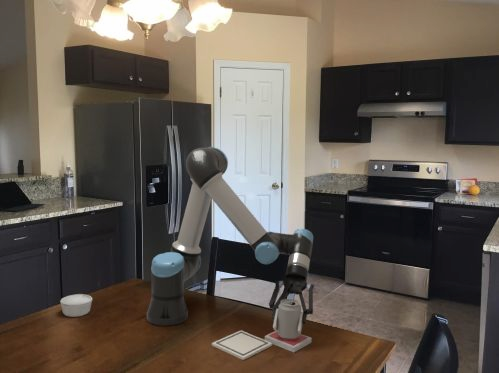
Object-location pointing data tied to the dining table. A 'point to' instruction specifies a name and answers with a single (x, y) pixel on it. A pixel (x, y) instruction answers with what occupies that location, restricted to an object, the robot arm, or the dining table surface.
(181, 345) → the dining table surface
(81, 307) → the ramekin
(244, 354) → the marked board
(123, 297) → the dining table surface
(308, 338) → the ink pad
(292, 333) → the can
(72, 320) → the dining table surface
